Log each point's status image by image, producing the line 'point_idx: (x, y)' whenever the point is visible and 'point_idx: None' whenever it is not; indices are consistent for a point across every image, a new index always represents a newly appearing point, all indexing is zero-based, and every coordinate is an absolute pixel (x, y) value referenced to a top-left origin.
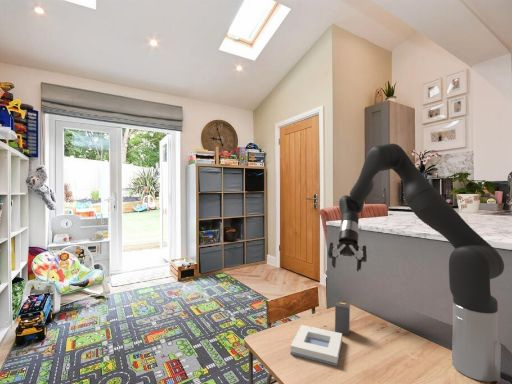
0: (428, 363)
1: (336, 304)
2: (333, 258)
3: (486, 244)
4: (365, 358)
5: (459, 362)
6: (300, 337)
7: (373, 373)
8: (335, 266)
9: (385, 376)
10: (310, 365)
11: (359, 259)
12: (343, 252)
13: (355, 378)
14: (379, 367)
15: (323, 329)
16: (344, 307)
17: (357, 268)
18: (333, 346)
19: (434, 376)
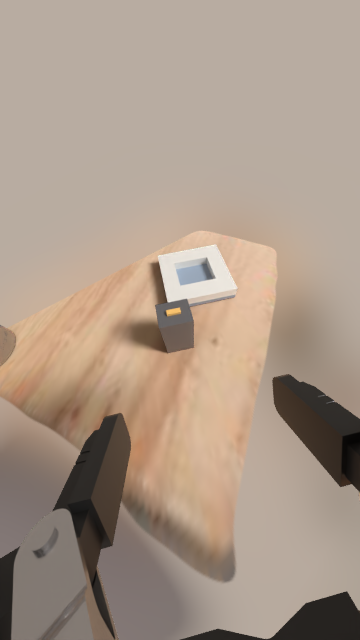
0: (49, 331)
1: (186, 304)
2: (355, 428)
3: None
4: (131, 295)
5: (2, 327)
6: (216, 262)
7: (121, 276)
8: (283, 413)
9: (108, 279)
10: None
11: (60, 511)
12: (345, 613)
13: (138, 261)
14: (114, 289)
15: (198, 296)
16: (165, 303)
17: (116, 414)
18: (168, 269)
19: (52, 308)
